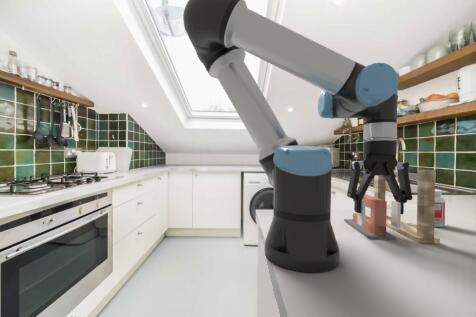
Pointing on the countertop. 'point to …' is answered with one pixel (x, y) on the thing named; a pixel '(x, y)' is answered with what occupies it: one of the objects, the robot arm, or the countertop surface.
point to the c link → (374, 215)
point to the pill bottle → (439, 209)
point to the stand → (424, 206)
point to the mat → (367, 233)
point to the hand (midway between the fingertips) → (378, 225)
